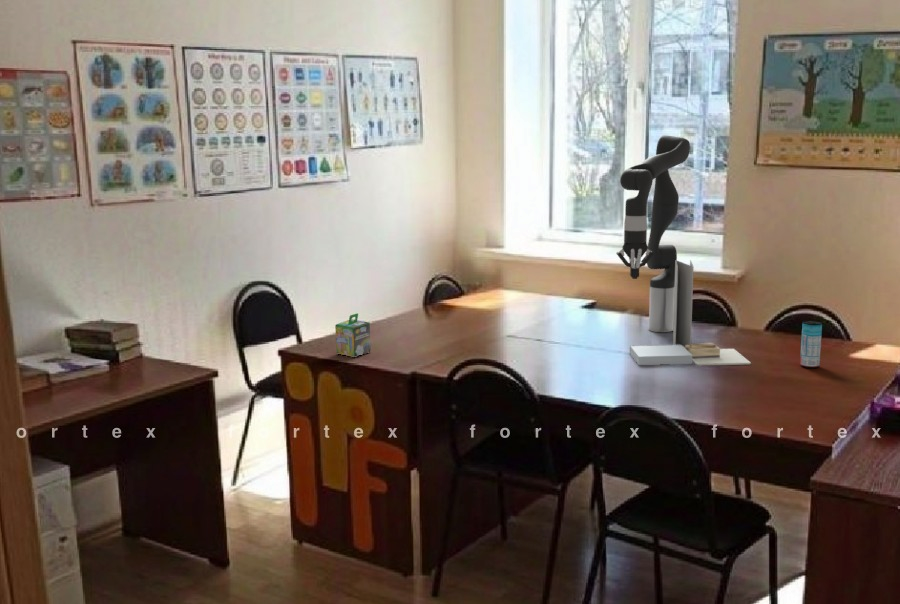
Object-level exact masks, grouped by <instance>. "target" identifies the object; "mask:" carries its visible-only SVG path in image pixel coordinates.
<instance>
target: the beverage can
mask: <svg viewBox="0 0 900 604" xmlns="http://www.w3.org/2000/svg"><path fill="white" fill-rule="evenodd" d="M801 327H802V329H801V339H800V340H801V343H800V360H799V364H800V366H801V367H802V368H804V367H805V368H804V369H817V367H818V368H819V367H820V362H821V360H820V359H821V349H822V348H821V347H822V333H823V332H822V331H823V321H820V320H817V319H816V320H814V319H813V320H812V319H806V320H803V321H802V326H801Z"/></svg>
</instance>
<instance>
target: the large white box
mask: <svg viewBox="0 0 900 604" xmlns="http://www.w3.org/2000/svg"><path fill="white" fill-rule="evenodd" d="M630 354H631V355H630ZM629 355H630V357H632V359H633V358H634V359H633V360H634V361H635V363H636V362H637V363H636V364H637V365H638V366H661V365H660V364H670V365H693V361H692V354H691V353H690V352H688V351H687V350H686V349H685V347H684V346H682V345H681V344H679V343H676V345H674V344H642V345H641V344H640V345H629Z"/></svg>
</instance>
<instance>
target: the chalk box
mask: <svg viewBox="0 0 900 604" xmlns="http://www.w3.org/2000/svg"><path fill="white" fill-rule="evenodd" d="M358 317H359V313H354V314H350V316H349V319H347V320H345V321H342V322H340V323H339V322H338V323H336V324H335V325H334V326H335V341H336V343H335V344H336V354H337V353H341V354H346V355H350V356H358V355H362V354H365V353H368V352H370V351H371V328H370V327H371V325H370V323H371V322H370V321H364V320H358ZM353 318H354V319H353ZM368 354H369V353H368ZM365 355H366V354H365ZM362 356H363V355H362Z"/></svg>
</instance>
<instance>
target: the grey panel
mask: <svg viewBox="0 0 900 604" xmlns="http://www.w3.org/2000/svg"><path fill="white" fill-rule="evenodd" d="M693 290H694V265H693V262H692V260H689V264H687V263H685V262H682V261H679V260H675V286H674V320H673V332H672V344H673V345H676V344H681V345H682V346H683V347H684V348H685V345H690V344H692V324H693V323H692V322H693V321H692V320H693V316H692V315H693V294H694V293H693Z"/></svg>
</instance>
